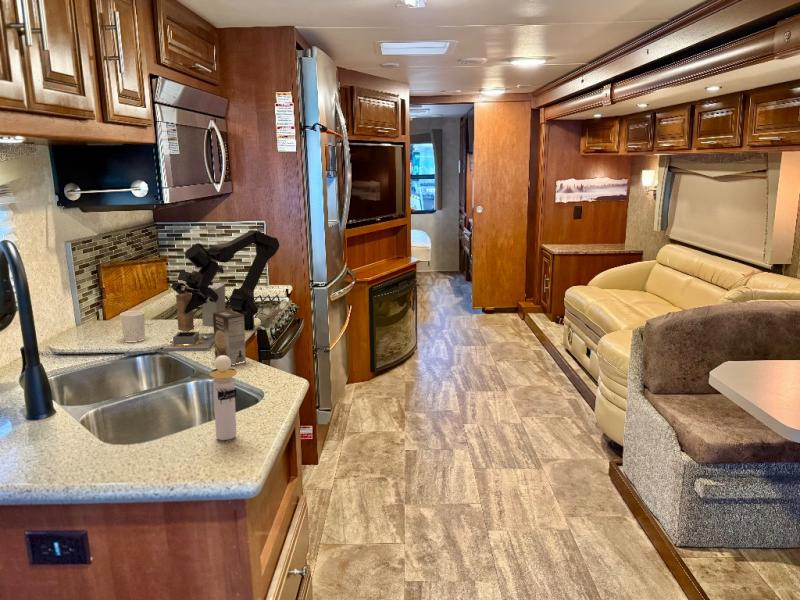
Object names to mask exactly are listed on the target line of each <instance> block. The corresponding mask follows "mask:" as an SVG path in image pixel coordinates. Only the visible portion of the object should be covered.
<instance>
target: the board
mask: <svg viewBox="0 0 800 600" xmlns="http://www.w3.org/2000/svg"><path fill="white" fill-rule="evenodd" d="M199 335H200V333H199ZM200 341H204V343H199V344H198V346H195V347H194V346H189V347H185V348H181V347H178V346H175V347H172V346H171V344H170V345H167V346H165V345H164V346H163V347H162V352H186V351H187V352H191V351H192V352H195V351H196V352H197V351H201V352H203V351H205V352H206V351H207V352H209V351H210V350H211V348H212V346H213V345H214V338H210V340H207V339H202V340H200Z"/></svg>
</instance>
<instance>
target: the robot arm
mask: <svg viewBox="0 0 800 600" xmlns="http://www.w3.org/2000/svg"><path fill="white" fill-rule="evenodd" d="M251 245H255V254H256V255H255V257H254V259H253V261H252V263H251V265H250V266H249V267H250V268H249V269H248V272H247V274H246V276H245V278H244V280H243V282H242V284H241V286H240V287H239V288H235V287H234V288H233V290H232V292H231V294H230V296H229V298H230V299H229V303H228V304H229V306H230V309H231V310H233V311H235V312H238V313H241V314H244V327H245V331H254V330H255V328H256V325H255V315H257V314H258V311H259V307H258V306H257V305H256V304H254V302H255V294H254V292H255V290H256V287H257V285H258V283H259V281H260V279H261V276H262V274H263V272H264V270H265V267H266V266H267V263H268V261H269V260H270V259H271V258H273V257H274V256H275V255H276V253H277V252H278V250H279V248H280V242H279V239H278V238H277V237H274V236H270V235H269V234H266V233H263V232H262V231H260V230H254V229H250V230H248V231H247V232H246V233H244V234H242V235H239V236H238V237H236V238H234V239H232V240H230V241H228V242H226V243H218V244H216V245H215V244H214V245H212V246H210V247H209V248H208V249H206V248H205V247H204V245H203V244H202V243H200V242H199V243H198V242H197V243H195V244H194V245H192V246H191V247H189V248H188V249H187V250H186V251H185V253H184V255H185V257H186V259H187V260H189V262H190V263H191V264H192V265H194V267H195V268H197V269H198V268H199V269H198V271H197V270H192V271H191V272H190V271H187V270H186V271H184V270H179V273H178V276H177V280H178V281H174V282H172V284H171V286H170V289H172V290H173V291H174V292H175V293H177V294H182V293H188V294H192V298H191V300H190V302H189V304H188V305H187V307H186V309H185V311H184V312H185V313H186V314H187V313H189V312H190V311H192V310H193V311H194V310H195V309H197V308H199V307H200V306H201V307H202V305H203V304H204V303H207V301H206V300H207V299H208V298H209V297H210V299H209V300H210V302H214V303H216V302H217V300H218V299H219V298H218V294H217V293H216V292H215V291H214V290H213V289H212V288H210V287H209V285H211V286H212V285H213V283H214V282H213V280H214V279H215V277H216V275H218V274H219V273H220V274H224V273H225V270H224V268H223V267H224V266H223V265H220V264H219V263H224V264H226V263H228V262H230V261H231V260H232V259H233V258H234V256H236V255H235V254H237V253H238V252H240V251H242V250H244V249H245V248H247V247H248V246H251ZM181 281H183V282H185V283H183V282H181Z"/></svg>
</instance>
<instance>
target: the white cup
mask: <svg viewBox="0 0 800 600" xmlns="http://www.w3.org/2000/svg"><path fill="white" fill-rule="evenodd" d="M119 315H120V322H121V330H122V334H123V341H124V340H125V341H139V340H142V339H144V338H145V335H146V333H145V332H146V322H145V321H146V317H145V311H143V310H129V311H128V310H127V311H123V312H121V313H120V314H119ZM145 339H146V338H145ZM145 339H144V340H145ZM125 341H124V342H125Z"/></svg>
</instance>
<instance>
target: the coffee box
mask: <svg viewBox="0 0 800 600" xmlns="http://www.w3.org/2000/svg"><path fill="white" fill-rule="evenodd" d="M212 327H213V333H214V343H213V345H214V361H215V360H216V358H217V357H218V356H221V355H225V356H228V357H229V358H230V360H231V365H232V364H236V363H239V362H243V361H246V333H245V331H246V330H245V327H244V314H241V313H238V312H235V311H233V310H232V309H231V308H230V309H225V311H219V312H214V313H213V326H212ZM246 362H247V361H246Z"/></svg>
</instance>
